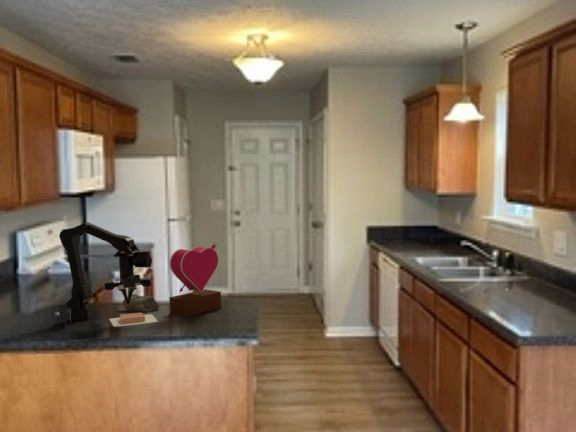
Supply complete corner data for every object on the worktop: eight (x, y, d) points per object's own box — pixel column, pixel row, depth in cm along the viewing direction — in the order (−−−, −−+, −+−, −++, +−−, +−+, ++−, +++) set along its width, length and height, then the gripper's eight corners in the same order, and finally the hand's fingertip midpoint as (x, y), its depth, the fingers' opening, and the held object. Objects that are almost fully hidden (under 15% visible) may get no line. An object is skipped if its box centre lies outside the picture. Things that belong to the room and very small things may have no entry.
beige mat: (113, 328, 243) (113, 326, 243) (109, 319, 257) (109, 318, 257) (158, 322, 251) (158, 321, 250) (151, 315, 264) (151, 314, 264)
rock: (116, 303, 269) (126, 293, 278) (119, 316, 271) (129, 306, 280) (152, 303, 265) (161, 292, 274) (155, 316, 267) (163, 306, 277)
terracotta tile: (122, 318, 248) (144, 316, 252) (120, 314, 255) (141, 312, 259) (122, 323, 248) (145, 321, 252) (120, 319, 256) (141, 317, 259)
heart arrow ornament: (210, 304, 284) (208, 240, 282) (226, 306, 278) (224, 242, 275) (169, 314, 265) (167, 246, 263) (185, 317, 259) (182, 248, 256)
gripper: (105, 272, 240) (107, 310, 241) (152, 268, 248) (154, 305, 249) (102, 268, 250) (103, 305, 252) (147, 264, 258) (148, 300, 259)
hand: (127, 304), depth 253 cm, fingers closed
